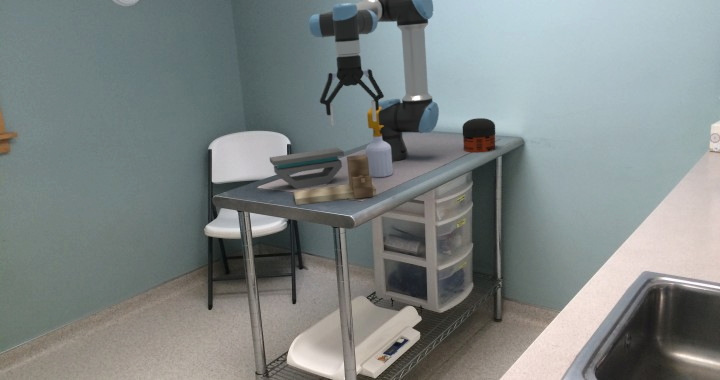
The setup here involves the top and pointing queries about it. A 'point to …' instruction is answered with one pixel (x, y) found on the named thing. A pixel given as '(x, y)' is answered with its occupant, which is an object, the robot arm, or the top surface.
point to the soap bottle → (378, 150)
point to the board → (325, 194)
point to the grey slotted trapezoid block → (308, 167)
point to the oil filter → (479, 135)
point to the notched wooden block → (359, 176)
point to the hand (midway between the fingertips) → (353, 123)
